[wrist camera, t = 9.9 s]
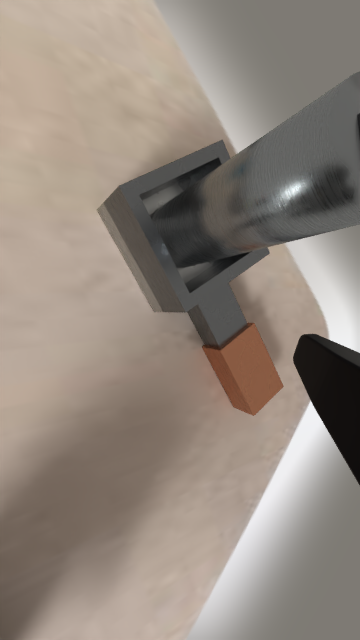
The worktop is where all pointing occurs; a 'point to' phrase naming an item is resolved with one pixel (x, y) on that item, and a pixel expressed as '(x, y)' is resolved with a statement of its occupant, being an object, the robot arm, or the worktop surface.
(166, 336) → the worktop surface
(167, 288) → the saucepan
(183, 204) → the cylinder with cube top
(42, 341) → the worktop surface
